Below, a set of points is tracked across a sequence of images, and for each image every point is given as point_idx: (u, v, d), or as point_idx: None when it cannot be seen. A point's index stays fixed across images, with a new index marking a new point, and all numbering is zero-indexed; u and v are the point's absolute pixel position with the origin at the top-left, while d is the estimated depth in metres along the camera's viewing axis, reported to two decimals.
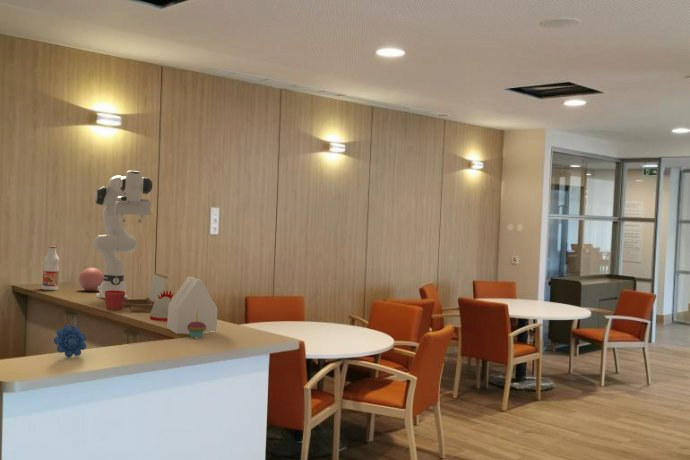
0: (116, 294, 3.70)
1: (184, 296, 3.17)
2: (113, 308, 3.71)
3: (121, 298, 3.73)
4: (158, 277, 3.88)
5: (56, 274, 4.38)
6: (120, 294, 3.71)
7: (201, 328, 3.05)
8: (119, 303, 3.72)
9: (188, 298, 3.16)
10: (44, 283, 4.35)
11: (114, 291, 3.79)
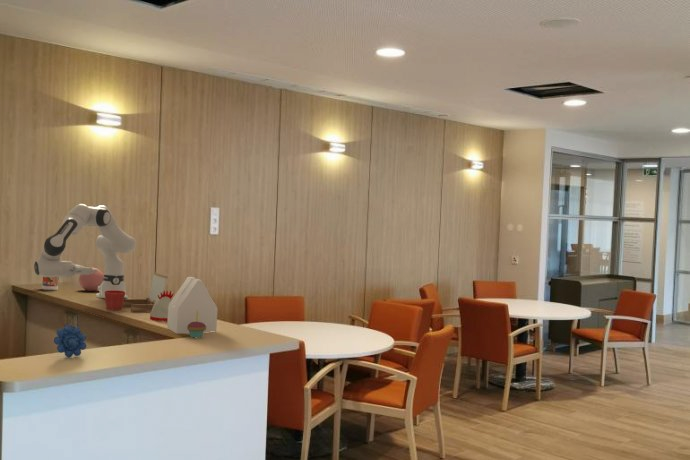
0: (116, 294, 3.70)
1: (184, 296, 3.17)
2: (113, 308, 3.71)
3: (121, 298, 3.73)
4: (158, 277, 3.88)
5: None
6: (120, 294, 3.71)
7: (201, 328, 3.05)
8: (119, 303, 3.72)
9: (188, 298, 3.16)
10: (44, 283, 4.35)
11: (114, 291, 3.79)
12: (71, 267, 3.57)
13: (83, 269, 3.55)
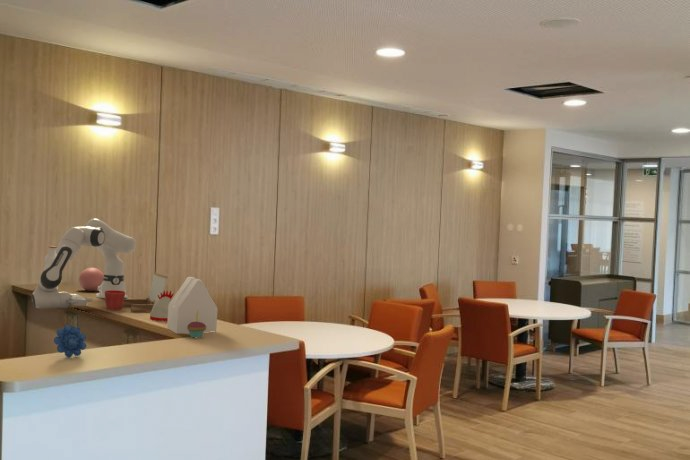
0: (116, 294, 3.70)
1: (184, 296, 3.17)
2: (113, 308, 3.71)
3: (121, 298, 3.73)
4: (158, 277, 3.88)
5: None
6: (120, 294, 3.71)
7: (201, 328, 3.05)
8: (119, 303, 3.72)
9: (188, 298, 3.16)
10: None
11: (114, 291, 3.79)
12: (68, 298, 3.58)
13: (79, 300, 3.56)
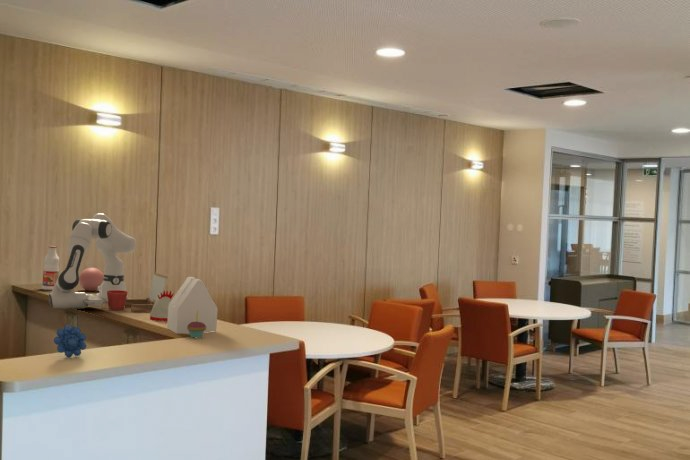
0: (118, 294, 3.71)
1: (184, 296, 3.17)
2: (115, 308, 3.72)
3: (123, 298, 3.73)
4: (158, 277, 3.88)
5: (56, 274, 4.38)
6: (122, 294, 3.72)
7: (201, 328, 3.05)
8: (121, 303, 3.73)
9: (189, 298, 3.16)
10: (44, 283, 4.35)
11: (116, 291, 3.80)
12: (84, 298, 3.62)
13: (96, 301, 3.60)
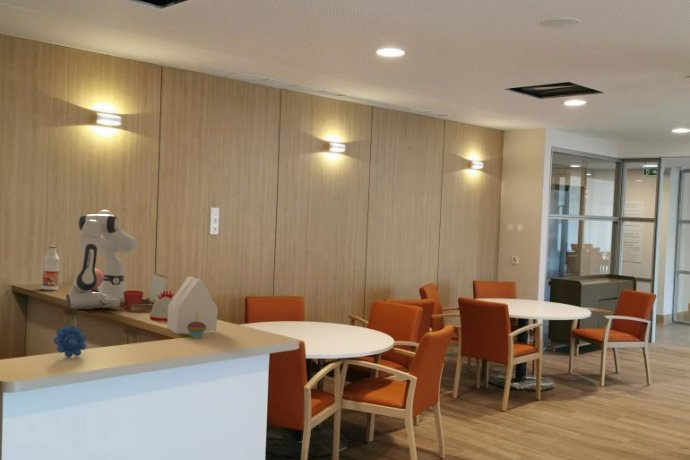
0: (134, 294, 3.75)
1: (184, 296, 3.17)
2: None
3: (139, 298, 3.78)
4: (158, 277, 3.88)
5: (56, 274, 4.38)
6: (138, 294, 3.77)
7: (201, 328, 3.05)
8: (137, 303, 3.77)
9: (188, 298, 3.16)
10: (44, 283, 4.35)
11: (133, 291, 3.85)
12: (101, 298, 3.67)
13: (113, 300, 3.65)
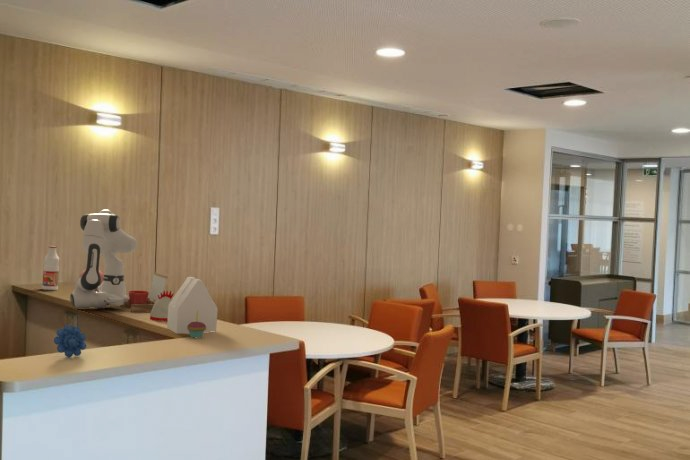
0: (140, 294, 3.77)
1: (184, 296, 3.17)
2: None
3: (145, 298, 3.79)
4: (158, 277, 3.88)
5: (56, 274, 4.38)
6: (144, 294, 3.78)
7: (201, 328, 3.05)
8: (143, 303, 3.79)
9: (188, 298, 3.16)
10: (44, 283, 4.35)
11: (138, 291, 3.86)
12: (105, 298, 3.68)
13: (117, 300, 3.66)
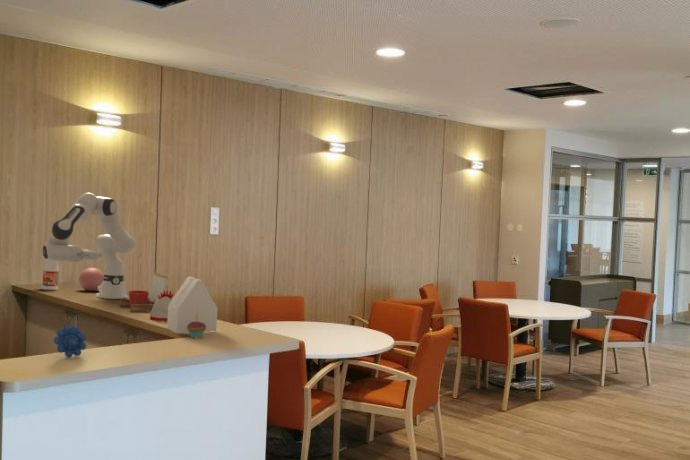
0: (140, 294, 3.77)
1: (184, 296, 3.17)
2: None
3: (145, 298, 3.79)
4: (158, 277, 3.88)
5: (56, 274, 4.38)
6: (144, 294, 3.78)
7: (201, 328, 3.05)
8: (143, 303, 3.79)
9: (188, 298, 3.16)
10: (44, 283, 4.35)
11: (138, 291, 3.86)
12: (79, 251, 3.60)
13: (91, 253, 3.58)
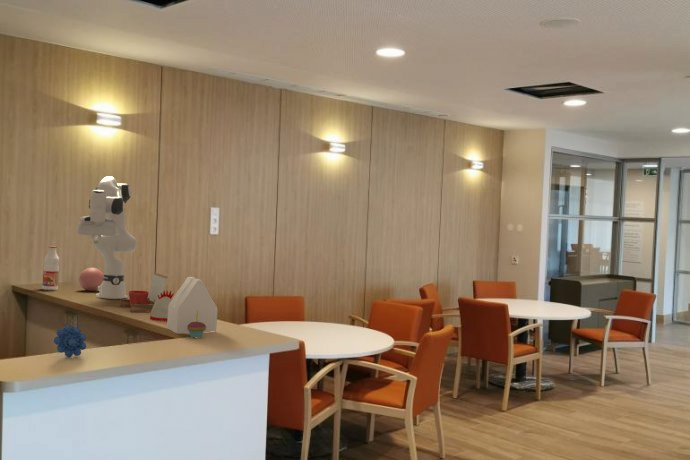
0: (140, 294, 3.77)
1: (184, 296, 3.17)
2: None
3: (145, 298, 3.79)
4: (158, 277, 3.88)
5: (56, 274, 4.38)
6: (144, 294, 3.78)
7: (201, 328, 3.05)
8: (143, 303, 3.79)
9: (188, 298, 3.16)
10: (44, 283, 4.35)
11: (138, 291, 3.86)
12: None
13: None
